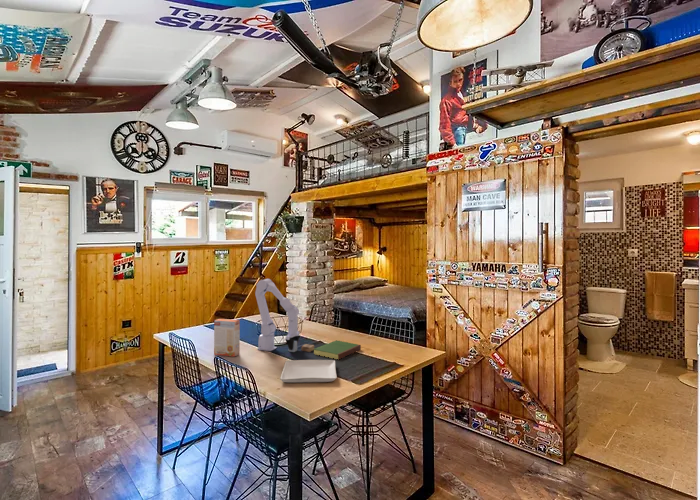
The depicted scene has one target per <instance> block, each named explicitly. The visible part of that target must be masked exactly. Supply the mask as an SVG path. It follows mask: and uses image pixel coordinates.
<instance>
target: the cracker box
mask: <svg viewBox="0 0 700 500" xmlns="http://www.w3.org/2000/svg"><path fill="white" fill-rule="evenodd" d="M240 321H241V320H239V319H229V318H228V319H227V318H216V319H214V323H213V326H214V327H213V334H214V335H213V352H214V353H213V355H215V356H224V357H234V358H235V357H236V356H238V355H240V350H241V349H240V342H241V341H240V337H241V335H240V334H241V333H240V329H241V327H240V326H241V325H240Z"/></svg>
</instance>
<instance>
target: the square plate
mask: <svg viewBox="0 0 700 500" xmlns="http://www.w3.org/2000/svg"><path fill="white" fill-rule="evenodd" d="M282 368H283V369H282V372H281V374H280V377H279V379H280V381H281V382H284V383H327V382H328V383H330V382H333V381H335V380H336V379H337V378H338V376H337V370H336V359H298V360H297V359H296V360H295V359H293V360H291V359H290V360H285V362H284V365H283V367H282Z"/></svg>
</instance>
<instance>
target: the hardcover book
mask: <svg viewBox="0 0 700 500" xmlns="http://www.w3.org/2000/svg"><path fill="white" fill-rule="evenodd" d="M361 349H362V348H361V344H358V343H352V342H347V341H342V340H334V341H331V342H328V343H326V344H322V345H320V346H318V347H314V350H313V355H315V356H319V355H320V357H324V356H325V357H324V358H328V357H329V359H333V358H334V359H333V360H337V359H338V361H340V360H342V359H344V358H346V357H345V356H347V355H349V354H351V353H353V354H355V353H357V352H360V351H361ZM359 350H360V351H359ZM356 351H357V352H356ZM354 352H355V353H354ZM351 355H352V354H351ZM349 356H350V355H349ZM343 357H344V358H343ZM347 357H348V356H347ZM341 358H342V359H341ZM339 359H340V360H339Z"/></svg>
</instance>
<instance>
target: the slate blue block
mask: <svg viewBox="0 0 700 500" xmlns="http://www.w3.org/2000/svg"><path fill="white" fill-rule="evenodd" d="M287 349H288V353H289V352H290V353H295V352H298V343H297V341H294V343H293V349H292V350H289V348H287Z"/></svg>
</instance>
